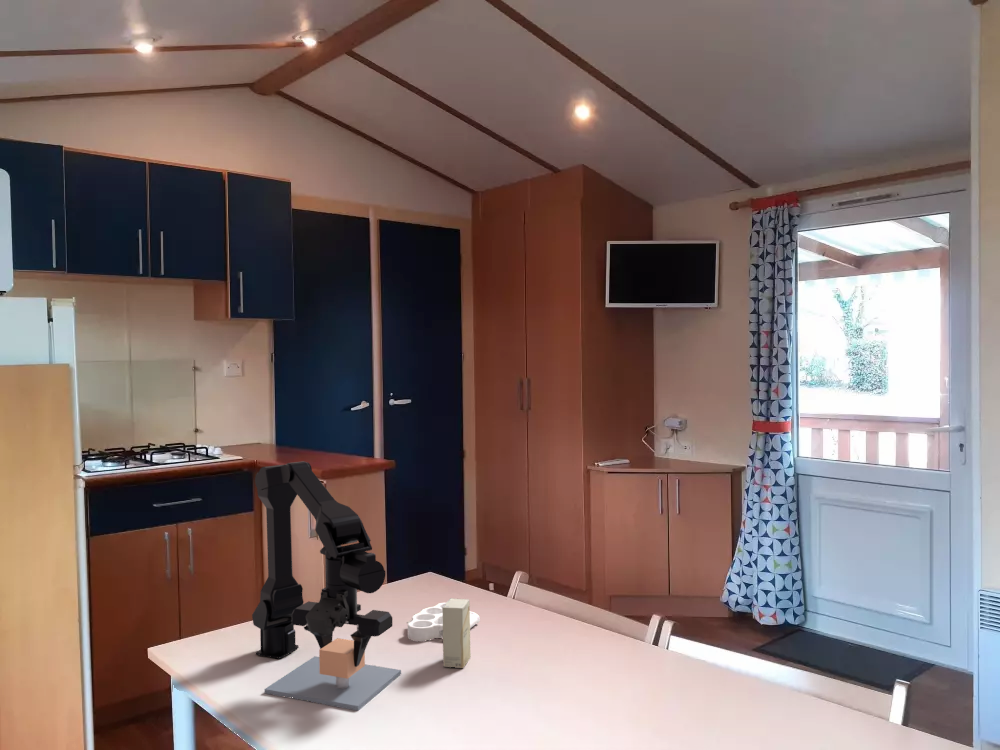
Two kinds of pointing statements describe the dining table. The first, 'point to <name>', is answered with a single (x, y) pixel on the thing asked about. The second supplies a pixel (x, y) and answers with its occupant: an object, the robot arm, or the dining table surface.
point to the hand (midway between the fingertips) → (342, 663)
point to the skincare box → (456, 633)
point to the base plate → (333, 685)
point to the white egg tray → (431, 623)
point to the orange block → (339, 659)
